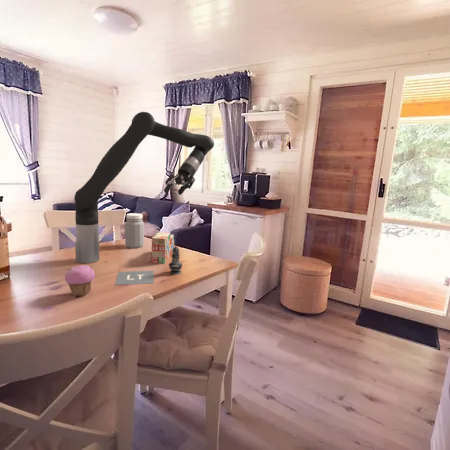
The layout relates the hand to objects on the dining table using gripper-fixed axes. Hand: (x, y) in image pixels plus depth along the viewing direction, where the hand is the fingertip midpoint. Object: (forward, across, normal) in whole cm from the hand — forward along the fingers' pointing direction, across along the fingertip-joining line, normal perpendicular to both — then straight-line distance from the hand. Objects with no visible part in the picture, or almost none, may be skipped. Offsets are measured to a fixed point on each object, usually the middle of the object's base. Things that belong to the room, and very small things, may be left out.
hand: (172, 192), depth 131 cm
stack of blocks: (+21, -8, +26) cm, 34 cm away
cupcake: (+56, +2, -9) cm, 57 cm away
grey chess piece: (+30, +12, +17) cm, 36 cm away
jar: (+19, -33, +28) cm, 47 cm away
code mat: (+40, +4, +6) cm, 41 cm away
